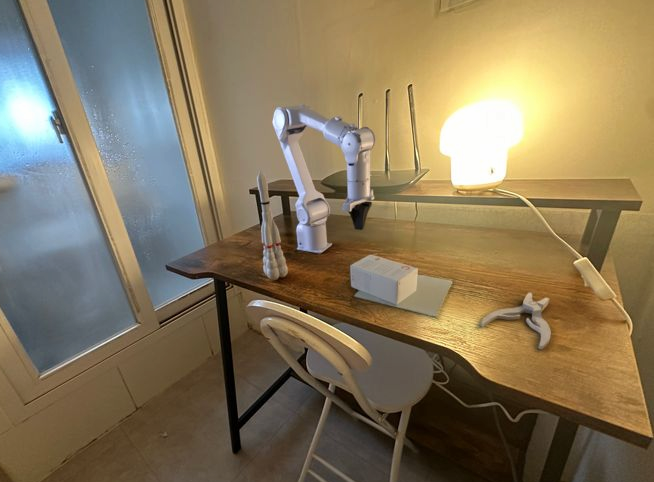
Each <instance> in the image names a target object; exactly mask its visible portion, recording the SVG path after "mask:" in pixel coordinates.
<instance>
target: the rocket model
mask: <svg viewBox="0 0 654 482" xmlns="http://www.w3.org/2000/svg"><path fill="white" fill-rule="evenodd" d="M256 183H257V189H258V191H259V197H260V203H261V204H260V205H261V210H262V212H261V216H262V222H261V227H260V231H261V243H262V244H263V251H262V253H263V257H262V264H263V268H262V269H263V273H264V274H265V276H267V278H268V279H270V281H277V280H278V279H279V278H285V277H286V276H287V275H288V272H289V267H288V266H287V262H286V261H287V260H286V257H285V255H284V252H283V250H282V247H281V243H282V240H281V239H282V238H281V236H280V231H279V228H278V226H277V224H276V222H275V219H274V216H273V212H272V209H271V203H270V197H269V184H268V183H269V182H268V178H267V176H266V174H264V172H263V171H262V170H261V169H259V172H258V174H257V176H256Z"/></svg>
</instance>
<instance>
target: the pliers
mask: <svg viewBox="0 0 654 482" xmlns="http://www.w3.org/2000/svg"><path fill="white" fill-rule="evenodd" d="M549 302H550V298H549V297H544V298H542V299H540V300H538V301H534V300H533V292H527V294H526V295H525V297H524V299H523V302H522V305H519V306H517V307H509V308H500V309H496V310H493V311H492V312H490V313H488V314H487V315H485V316H484V317H483V318H482V320H481V322H480V325H479V326H480V327H482V328H484V327H486V325H488V324H489V323H491V322H493V321H495V320H497V319H498V320H507V321H512V320H519V319H521V314H523V313H525V314H531V319H530V318H529V317H526V319H525V322H526V324H527V325H528V326H529V327H530V328H531V329H533V330H534V331H535V332H538V334H540V340H539V344H538V347H537V349H539V350H541V351H542V350H543V349H544V348H546V346H548V344H549V342H550V339H551V336H552V332H551V327H550V325H549V324H548V322H547V321H546V320H545V319H544V318H543V315H542V312H543V311H544V310H545V308H546V307H547V306H548V305H549Z"/></svg>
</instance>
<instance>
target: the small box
mask: <svg viewBox="0 0 654 482" xmlns="http://www.w3.org/2000/svg"><path fill="white" fill-rule="evenodd" d="M349 266H350V267H349V269H350V287H351V288H353V289H355V290H358V291H359V290H360V291H363V292H365V293H368V294H370V295H373V296H375V297H378V298H380V299H383V300H385V301H388V302H390V303H393V304H395V305H398V304H399V303H400V302H402V301H403V300H404V299H406V298H407V297H409V296H410V295H411V294H413V293H414V292H415V291H416V286H417V274H418V272H419V268H418V267H415V266H412V265H408V264H405V263H403V262H402V263H401V262H398V261H395V260H391V259H388V258H384V257H381V256H378V255H375V254H368V255H367V256H365V257H363V258H361V259H359V260H357V261H355V262H354V263H352V264H350V265H349Z"/></svg>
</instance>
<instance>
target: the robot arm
mask: <svg viewBox="0 0 654 482" xmlns="http://www.w3.org/2000/svg"><path fill="white" fill-rule="evenodd" d="M272 117H273V118H272V126H273V128H274V131H275V133H276V137H277V139H278V141H279V144H280V148H281V150H282V153H283V156H284V159H285V161H286V164H287V166H288V169H289V172H290V174H291V178H292V180H293V183H294V185H295V188H296V192H297V194H298V198H297V200H296V202H295V204H294V206H295V210H296V217H297V220H298V222H299V223H298V224H297V226H296V231H295V233H296V240H297V241H296V242H297V247H296V250H297V251H305V252H308V253H309V252H311V253H315V254H322V253H323V252H324V251H326V250H328V249H329V248H330V247H331V246H332V245H333V243H332V242H328V238H327V237H328V236H327V224H326V222H327V221H328V217H329V216H330V214H331V207H330V204H329V202H328V201H327V200H326V198H325V196H324V194H323V193H321V192H320V191H318V190H316V187H315V185H314V183H313V179H312V176H311V173H310V171H309V168H308V165H307V161H306V160H305V156H304V154H303V152H302V149H301V146H300V144H299V141H300V138H302V136H303V135H304V133H305V131H306V129H307V128H308V127H309V128H311V129H313V130H316V131H318V132H320V133H322V134H323V138H324V139H325V140H326V141H329V142H330V143H332V144H334V145H335V146H337V147H339V148H341V151H342V153H343V154H344V161H345V163H346V179H347V183H346V184H347V196H346V198H345V201H344V203H342V212H347V213H348V214H349V216H350V218H351V220H352V224H353V227H354V230H357V231H362V230H364V228H365V226H366V221H367V217H368V213H369V211H370V209H371V207H372V206H373V202H372V201H374V200H375V195H374V189H371V151H372V149H373V148H374V147H375V145H376V135H375V133H374V131H373V129H371V128H370V127H368V126H363V127H360V128H359V127H358V124H356V123H349V122H347V121H345V120H343V117H342V116H341V115H337V116H334V117H330V119H329V118H328V117H326V116H324V115H323V114H321V113H319V112H317V111H315V110H313V109H312V108H311V106H310V105H305V104H303V103H302V104H300V103H299V104H298V105H290V106H278V107H276V109H275V110H274V113H273V116H272Z"/></svg>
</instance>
